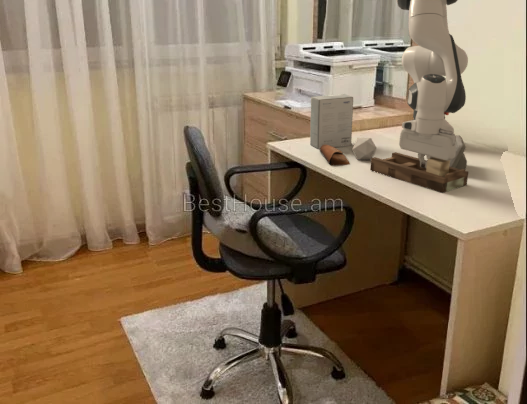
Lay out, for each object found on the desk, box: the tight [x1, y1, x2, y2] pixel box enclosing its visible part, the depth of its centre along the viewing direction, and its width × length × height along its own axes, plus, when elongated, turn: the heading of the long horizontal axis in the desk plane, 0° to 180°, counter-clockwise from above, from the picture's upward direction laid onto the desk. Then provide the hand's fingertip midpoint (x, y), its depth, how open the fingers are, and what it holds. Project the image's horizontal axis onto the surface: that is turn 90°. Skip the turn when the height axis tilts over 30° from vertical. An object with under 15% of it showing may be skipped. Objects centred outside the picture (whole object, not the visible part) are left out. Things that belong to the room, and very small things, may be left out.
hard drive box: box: [309, 93, 354, 150], centre depth 231 cm, size 16×8×20 cm, turn 111°
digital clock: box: [449, 134, 468, 171], centre depth 203 cm, size 16×9×11 cm, turn 156°
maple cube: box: [426, 157, 450, 176], centre depth 186 cm, size 5×5×5 cm
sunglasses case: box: [319, 144, 351, 166], centre depth 216 cm, size 18×7×7 cm
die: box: [351, 137, 377, 161], centre depth 215 cm, size 8×9×10 cm
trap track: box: [370, 152, 469, 194], centre depth 193 cm, size 13×30×6 cm, turn 38°
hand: (424, 167), depth 190 cm, fingers closed
